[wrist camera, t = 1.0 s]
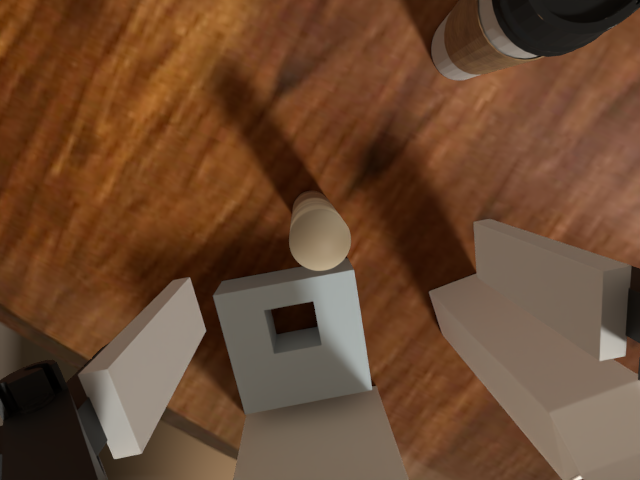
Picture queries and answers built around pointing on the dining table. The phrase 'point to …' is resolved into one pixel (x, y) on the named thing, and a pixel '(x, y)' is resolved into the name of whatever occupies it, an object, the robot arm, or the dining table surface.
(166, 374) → the robot arm
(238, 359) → the socket block
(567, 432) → the milk
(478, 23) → the coffee cup
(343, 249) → the birch peg
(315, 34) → the dining table surface
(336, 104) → the dining table surface
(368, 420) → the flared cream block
